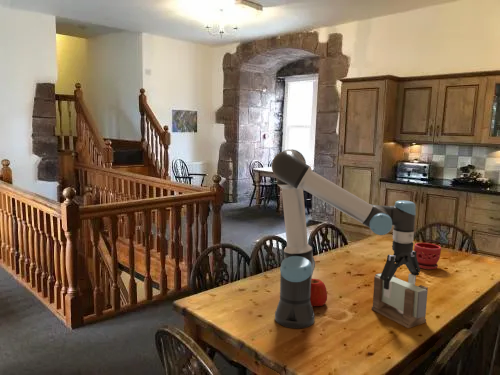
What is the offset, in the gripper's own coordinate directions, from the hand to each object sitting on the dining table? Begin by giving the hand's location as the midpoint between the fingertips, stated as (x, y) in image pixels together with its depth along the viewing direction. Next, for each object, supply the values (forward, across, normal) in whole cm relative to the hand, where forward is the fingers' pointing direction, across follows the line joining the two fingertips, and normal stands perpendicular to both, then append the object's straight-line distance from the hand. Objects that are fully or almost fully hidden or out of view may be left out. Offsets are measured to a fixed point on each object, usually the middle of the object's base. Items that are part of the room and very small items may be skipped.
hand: (399, 293), depth 160 cm
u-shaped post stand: (+9, 0, 0) cm, 9 cm away
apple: (+9, -22, +25) cm, 35 cm away
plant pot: (+9, +61, +33) cm, 70 cm away
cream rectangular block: (+5, 0, 0) cm, 5 cm away
